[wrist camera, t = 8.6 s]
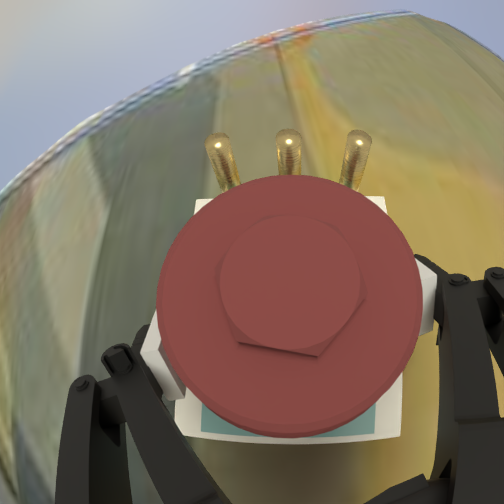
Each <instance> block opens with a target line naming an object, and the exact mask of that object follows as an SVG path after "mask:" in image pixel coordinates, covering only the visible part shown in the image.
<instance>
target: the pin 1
mask: <svg viewBox="0 0 504 504" xmlns="http://www.w3.org/2000/svg"><path fill="white" fill-rule="evenodd" d="M205 147H206V150H207V152H208V155H209V158H210V161H211V163H212V166H213V169H214V172H215V174H216V177H217V180H218V182H219V185H220V188H221V191H222V193H224V192H226V191H228V190H229V189H231V188H233V187H235V186H238V185H240V184H241V182H240V178H239V175H238V171H237V167H236V163H235V160H234V156H233V152H232V148H231V145H230V141H229V137H228V136H227V135H226V134H225V133H214V134H211V135H210V136H208V137H207V138H206V140H205Z"/></svg>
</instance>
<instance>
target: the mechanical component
mask: <svg viewBox="0 0 504 504" xmlns="http://www.w3.org/2000/svg"><path fill="white" fill-rule="evenodd" d="M156 311H157V322H158V329H159V333H160V337H161V340H162V344H163V347H164V350H165V352H166V354H167V356H168V359H169V361H170V363H171V365H172V367H173V369H174V370H175V372H176V373H177V375H178V376H179V378H180V379H181V380H182V382H183V383H184V385H185V386H186V387H187V388H188V389H189V390H190V391H191V392H192V393H193V394H194V395H195V396H196V397H197V398H198V399H199V400H200V401H201V402H202V403H203V404H204V405H205V406H206V407H207V408H208V409H209V410H211V411H212V412H213V413H215V414H216V415H217V416H219V417H220V418H221V419H223V420H225V421H226V422H228V423H230V424H232V425H234V426H236V427H237V428H240V429H242V430H245V431H248V432H251V433H254V434H257V435H262V436H267V437H273V438H302V437H310V436H315V435H319V434H322V433H326V432H329V431H332V430H334V429H337V428H339V427H341V426H343V425H345V424H348V423H349V422H351V421H352V420H354V419H355V418H357V417H359V416H360V415H362V414H363V413H364V412H366V411H367V410H368V409H369V408H370V407H371V406H372V405H373V404H374V403H376V402H377V401H378V400H379V398H380V397H381V396H382V395H383V394H384V393H386V392H387V391H388V390H389V389H390V387H391V386H392V385H393V384H394V382H395V381H396V380H397V378H398V377H399V376H400V374H401V373H402V372H403V370H404V368H405V366H406V365H407V363H408V361H409V359H410V357H411V355H412V353H413V351H414V348H415V345H416V342H417V339H418V335H419V332H420V327H421V321H422V313H423V289H422V283H421V278H420V273H419V268H418V265H417V263H416V260H415V257H414V254H413V252H412V249H411V248H410V246H409V244H408V242H407V240H406V239H405V237H404V235H403V233H402V232H401V231H400V229H399V228H398V227H397V225H396V224H395V223H394V222H393V220H392V219H391V218H390V217H389V216H388V215H387V214H386V213H385V212H384V211H383V210H382V209H381V208H380V207H379V206H378V205H376V204H375V203H374V202H372V201H371V200H369V199H368V198H367V197H365V196H364V195H362V194H361V193H359V192H357V191H355V190H353V189H351V188H349V187H347V186H345V185H342V184H339V183H336V182H334V181H331V180H328V179H323V178H318V177H313V176H306V175H278V176H269V177H265V178H260V179H255V180H252V181H249V182H246V183H243V184H240V185H238V186H235V187H233V188H231V189H229V190H228V191H226V192H224V193H222V194H220V195H218V196H217V197H216V198H214V199H213V200H211V201H210V202H208V203H207V204H206V205H204V206H203V207H202V208H201V209H200V210H199V211H198V212H197V213H196V214H195V215H194V216H192V217H191V218H190V220H189V221H188V222H187V223H186V225H185V226H184V227H183V228H182V230H181V231H180V232H179V233H178V235H177V237H176V239H175V240H174V242H173V244H172V245H171V247H170V249H169V251H168V253H167V256H166V258H165V261H164V263H163V266H162V269H161V273H160V278H159V282H158V287H157V300H156Z"/></svg>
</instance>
